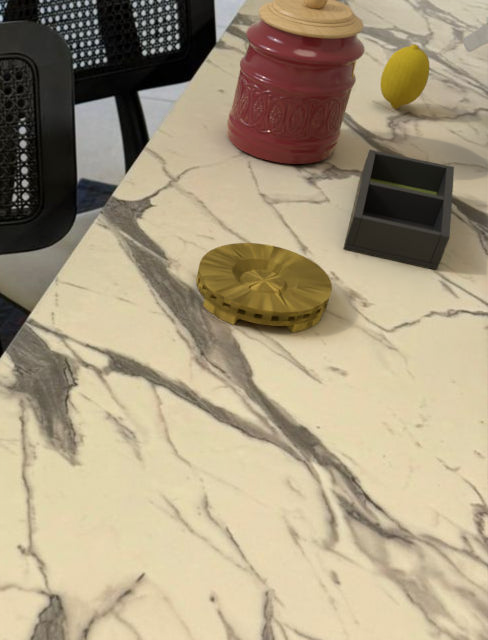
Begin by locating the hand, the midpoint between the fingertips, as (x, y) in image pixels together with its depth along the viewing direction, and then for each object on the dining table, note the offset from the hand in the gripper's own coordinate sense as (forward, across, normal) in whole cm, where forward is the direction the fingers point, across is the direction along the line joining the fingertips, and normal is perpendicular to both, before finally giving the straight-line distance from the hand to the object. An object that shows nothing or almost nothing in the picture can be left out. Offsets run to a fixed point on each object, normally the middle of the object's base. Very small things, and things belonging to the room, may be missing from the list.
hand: (482, 36), depth 121 cm
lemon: (+13, 0, -3) cm, 13 cm away
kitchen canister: (+16, -22, 0) cm, 27 cm away
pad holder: (+3, -30, -12) cm, 33 cm away
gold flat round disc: (+5, -54, -11) cm, 55 cm away
